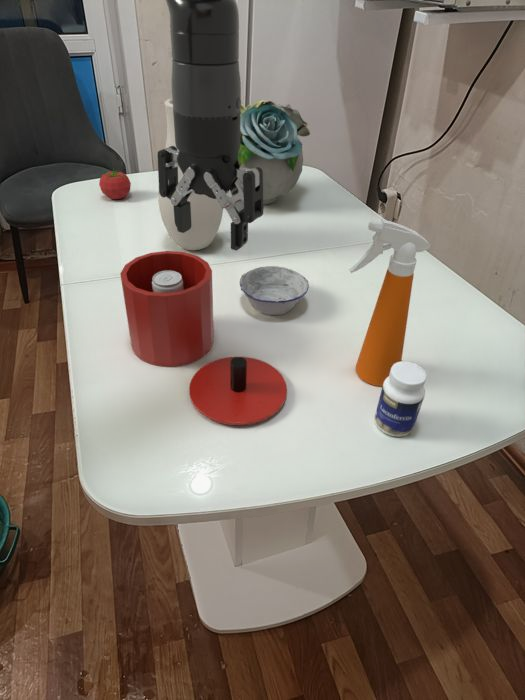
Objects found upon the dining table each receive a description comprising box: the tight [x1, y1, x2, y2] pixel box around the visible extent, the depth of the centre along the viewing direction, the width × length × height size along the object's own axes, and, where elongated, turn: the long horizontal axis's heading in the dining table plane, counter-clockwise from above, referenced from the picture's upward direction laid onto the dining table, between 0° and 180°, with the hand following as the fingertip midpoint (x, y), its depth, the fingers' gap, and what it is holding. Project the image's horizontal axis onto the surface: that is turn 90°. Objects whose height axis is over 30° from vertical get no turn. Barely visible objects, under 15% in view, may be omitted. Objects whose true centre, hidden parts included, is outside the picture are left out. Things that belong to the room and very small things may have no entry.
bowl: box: [239, 265, 310, 316], centre depth 96 cm, size 13×13×5 cm
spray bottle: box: [349, 218, 432, 387], centre depth 75 cm, size 7×11×26 cm, turn 94°
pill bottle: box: [374, 360, 427, 437], centre depth 71 cm, size 6×6×10 cm
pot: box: [120, 250, 215, 368], centre depth 83 cm, size 14×14×14 cm
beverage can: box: [152, 271, 184, 293], centre depth 84 cm, size 5×5×12 cm
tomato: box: [98, 168, 132, 200], centre depth 133 cm, size 8×8×8 cm
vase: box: [157, 97, 224, 251], centre depth 106 cm, size 14×14×30 cm
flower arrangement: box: [237, 99, 311, 206], centre depth 131 cm, size 25×25×24 cm
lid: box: [188, 356, 288, 426], centre depth 76 cm, size 15×15×6 cm
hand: (210, 239), depth 67 cm, fingers open, 8 cm apart
